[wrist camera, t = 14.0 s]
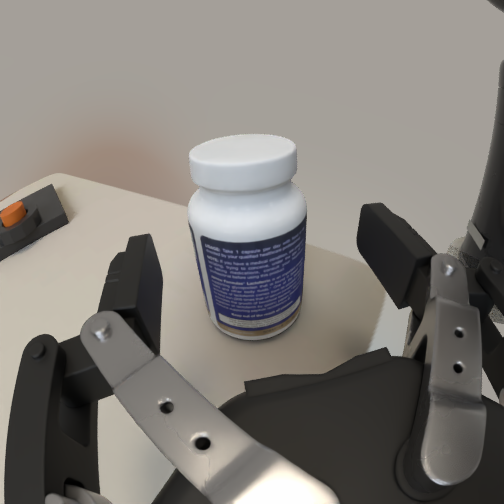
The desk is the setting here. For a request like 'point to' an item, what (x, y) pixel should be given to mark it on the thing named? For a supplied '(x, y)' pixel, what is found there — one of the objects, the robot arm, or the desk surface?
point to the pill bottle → (248, 233)
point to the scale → (33, 221)
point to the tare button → (13, 213)
